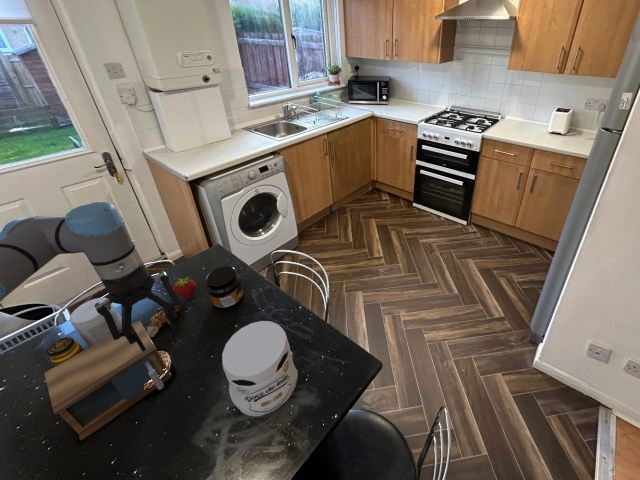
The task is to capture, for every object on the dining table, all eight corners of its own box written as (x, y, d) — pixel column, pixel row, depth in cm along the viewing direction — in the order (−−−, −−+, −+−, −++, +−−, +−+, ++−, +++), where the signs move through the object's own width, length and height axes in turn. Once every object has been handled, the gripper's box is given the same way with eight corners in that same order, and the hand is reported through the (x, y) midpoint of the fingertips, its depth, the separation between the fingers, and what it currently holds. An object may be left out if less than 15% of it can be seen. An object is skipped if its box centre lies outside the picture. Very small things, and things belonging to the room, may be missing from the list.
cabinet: (69, 401, 82) (44, 372, 76) (155, 348, 96) (139, 320, 89) (81, 441, 75) (53, 413, 68) (172, 377, 88) (156, 348, 82)
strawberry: (184, 290, 116) (176, 270, 111) (203, 292, 115) (196, 272, 111) (174, 303, 111) (164, 283, 106) (194, 304, 110) (185, 284, 105)
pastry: (138, 336, 99) (134, 329, 97) (165, 306, 110) (161, 299, 108) (159, 338, 99) (155, 331, 97) (184, 307, 109) (180, 300, 107)
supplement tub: (136, 325, 103) (117, 294, 95) (121, 352, 95) (100, 319, 87) (102, 331, 101) (81, 299, 94) (85, 358, 93) (60, 326, 86)
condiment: (87, 380, 87) (65, 354, 81) (51, 387, 86) (27, 361, 80) (101, 356, 93) (82, 330, 88) (68, 362, 92) (47, 336, 86)
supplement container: (231, 314, 107) (222, 289, 101) (206, 307, 109) (196, 282, 103) (250, 292, 116) (244, 267, 110) (227, 285, 118) (219, 262, 112)
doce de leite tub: (273, 433, 76) (259, 393, 67) (219, 406, 81) (199, 366, 73) (311, 368, 90) (304, 328, 82) (263, 349, 96) (251, 309, 87)
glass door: (125, 400, 82) (109, 377, 76) (165, 373, 88) (152, 350, 83) (132, 415, 79) (115, 392, 73) (172, 386, 85) (159, 363, 80)
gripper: (65, 305, 58) (116, 376, 70) (177, 253, 71) (205, 320, 83) (58, 286, 62) (107, 356, 74) (165, 240, 75) (193, 305, 87)
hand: (159, 337), depth 78 cm, fingers open, 6 cm apart
